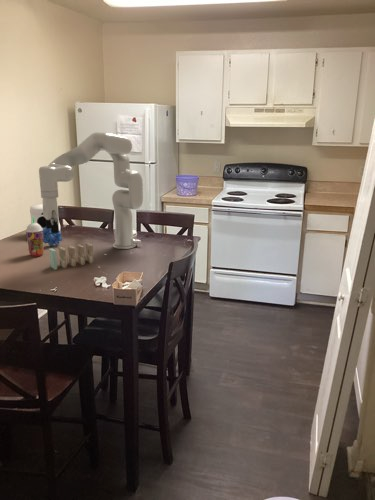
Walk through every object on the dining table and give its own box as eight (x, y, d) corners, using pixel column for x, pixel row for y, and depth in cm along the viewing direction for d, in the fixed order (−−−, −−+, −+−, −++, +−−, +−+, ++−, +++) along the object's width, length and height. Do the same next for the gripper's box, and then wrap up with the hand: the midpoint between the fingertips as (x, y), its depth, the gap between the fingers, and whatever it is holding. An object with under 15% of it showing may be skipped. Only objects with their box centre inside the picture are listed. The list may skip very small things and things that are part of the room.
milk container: (34, 232, 271) (32, 203, 265) (63, 231, 273) (61, 203, 267) (27, 239, 254) (25, 209, 249) (58, 239, 256) (56, 209, 251)
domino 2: (63, 264, 212) (61, 246, 209) (66, 267, 208) (65, 249, 205) (60, 265, 211) (58, 247, 209) (63, 267, 207) (62, 249, 205)
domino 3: (72, 263, 214) (71, 245, 212) (75, 265, 210) (74, 248, 208) (69, 263, 214) (67, 245, 211) (72, 266, 210) (71, 248, 207)
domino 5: (89, 260, 219) (88, 242, 217) (93, 262, 215) (92, 245, 213) (86, 260, 218) (85, 243, 216) (90, 263, 214) (89, 245, 212)
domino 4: (81, 261, 217) (80, 244, 214) (84, 264, 213) (83, 246, 210) (77, 262, 216) (76, 244, 213) (81, 264, 212) (80, 247, 209)
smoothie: (35, 258, 220) (31, 220, 214) (24, 255, 224) (20, 218, 218) (48, 254, 227) (45, 217, 221) (37, 252, 231) (34, 215, 225)
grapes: (40, 249, 236) (38, 227, 233) (40, 245, 243) (39, 224, 239) (62, 247, 240) (61, 226, 236) (62, 244, 246) (61, 223, 242)
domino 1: (54, 266, 210) (52, 248, 207) (57, 269, 206) (55, 250, 203) (50, 266, 209) (49, 248, 206) (53, 269, 205) (52, 251, 202)
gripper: (36, 191, 203) (40, 227, 208) (45, 197, 188) (49, 235, 193) (53, 190, 206) (55, 225, 211) (63, 196, 192) (65, 233, 197)
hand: (52, 230), depth 202 cm, fingers open, 9 cm apart
